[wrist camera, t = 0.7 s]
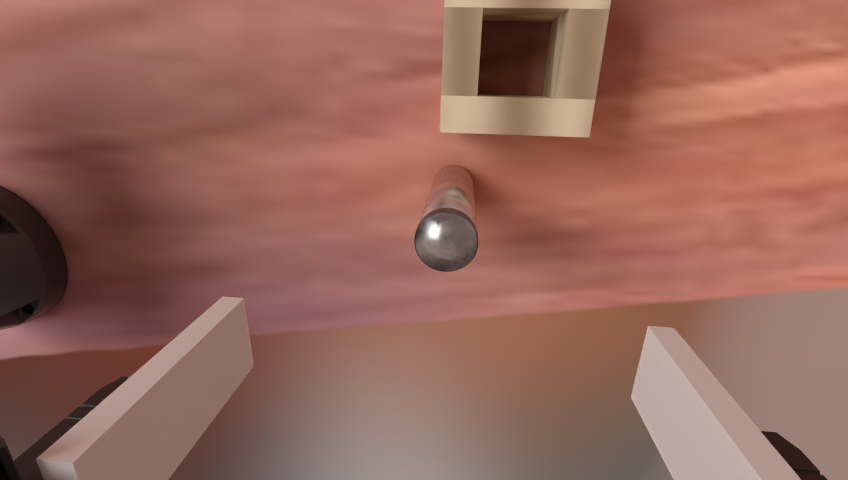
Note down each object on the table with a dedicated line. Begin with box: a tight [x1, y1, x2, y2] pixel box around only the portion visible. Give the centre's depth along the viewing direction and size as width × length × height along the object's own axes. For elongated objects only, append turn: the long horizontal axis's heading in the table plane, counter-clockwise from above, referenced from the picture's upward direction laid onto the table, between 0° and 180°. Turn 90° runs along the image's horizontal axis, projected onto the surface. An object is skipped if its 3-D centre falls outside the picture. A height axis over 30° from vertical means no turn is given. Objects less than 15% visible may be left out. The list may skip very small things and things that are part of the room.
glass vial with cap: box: [414, 165, 478, 272], centre depth 30 cm, size 4×4×14 cm
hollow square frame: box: [440, 0, 611, 138], centre depth 30 cm, size 10×10×6 cm
